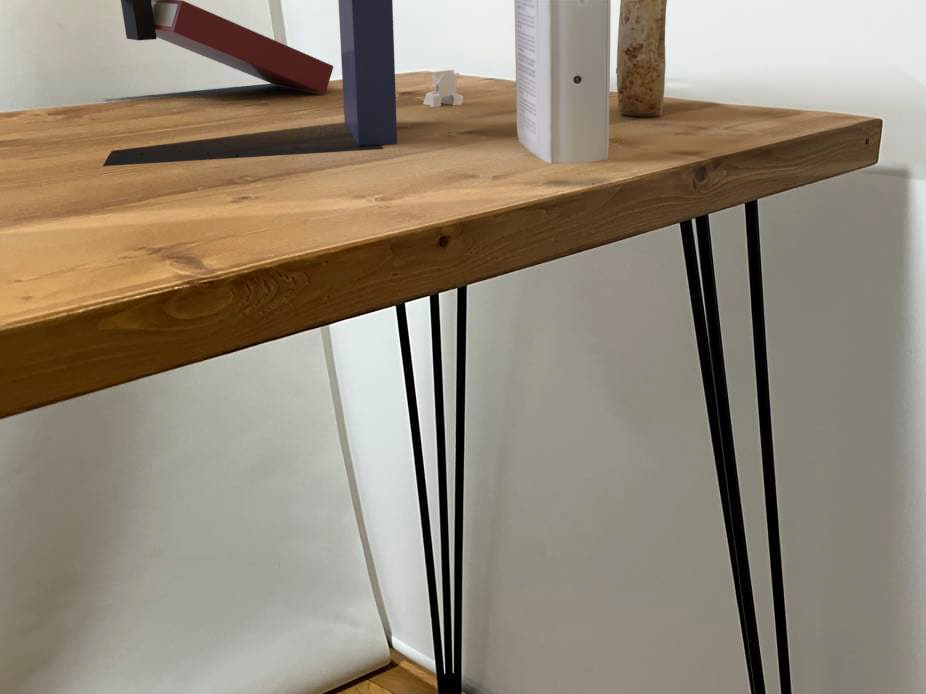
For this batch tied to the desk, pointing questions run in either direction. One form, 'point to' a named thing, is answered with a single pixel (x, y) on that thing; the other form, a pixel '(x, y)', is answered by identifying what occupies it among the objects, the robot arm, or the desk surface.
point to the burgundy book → (238, 46)
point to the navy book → (368, 70)
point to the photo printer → (563, 78)
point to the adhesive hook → (444, 90)
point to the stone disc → (641, 57)
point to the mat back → (224, 92)
